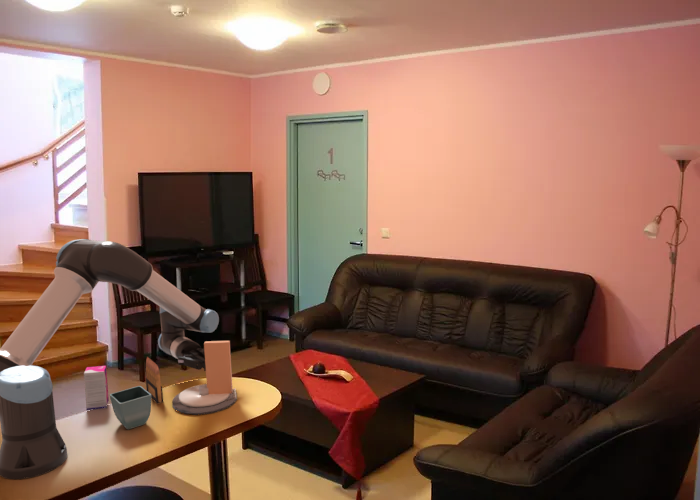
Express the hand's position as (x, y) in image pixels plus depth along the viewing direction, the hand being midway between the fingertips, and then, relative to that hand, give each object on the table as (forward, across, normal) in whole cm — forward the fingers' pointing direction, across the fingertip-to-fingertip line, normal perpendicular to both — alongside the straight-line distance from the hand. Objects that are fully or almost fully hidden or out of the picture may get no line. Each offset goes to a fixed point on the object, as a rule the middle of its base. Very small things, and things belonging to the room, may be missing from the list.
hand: (221, 369), depth 181 cm
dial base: (-2, +5, -9) cm, 11 cm away
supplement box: (-22, +30, -10) cm, 38 cm away
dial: (-2, +5, -8) cm, 9 cm away
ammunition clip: (-15, +15, -10) cm, 24 cm away
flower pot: (-2, +27, -10) cm, 29 cm away
